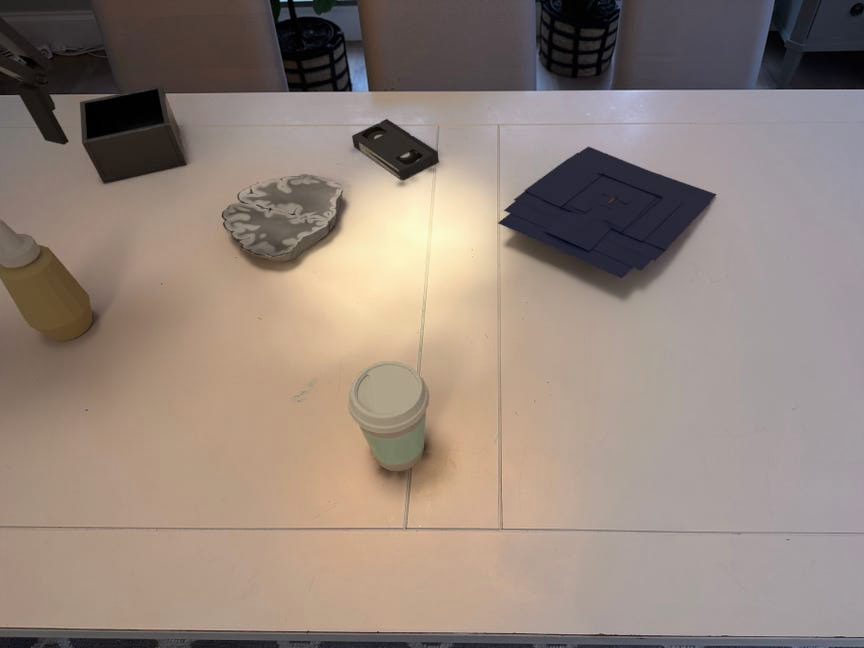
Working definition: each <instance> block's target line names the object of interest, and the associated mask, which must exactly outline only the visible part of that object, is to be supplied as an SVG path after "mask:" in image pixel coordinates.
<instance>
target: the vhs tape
mask: <svg viewBox="0 0 864 648" xmlns="http://www.w3.org/2000/svg"><path fill="white" fill-rule="evenodd" d="M351 138H352V144H353V147H354V148H355V149H356V150H358V151H359V152H361V153H363V155H365V156H367V157H368V158H369V159H370V160H372V161H373V162H375V163H376V164H377V165H379V166H381V168H383V169H385V170H386V171H388V172H389V173H391V174H392V175H393V176H395V177H396V178H398V179H399V180H400V181H405V180H407V179H409V178H410V177H412V176H414V175H417V174H418V173H421V172H422V171H424V170H426V169H428V168H430V167H431V166H433V165H435V164H437V163H439V151H438V150H436V149H434V148H433V147H431V146H430V145H428V144H426V143H425V142H423V141H421V139H419V138H417V137H415V136H414V135H412V134H411V133H410V132H408V131H406V130H405V129H403V128H402V127H400V126H399V125H398V124H396V123H395V122H393V121H391V120H389V119H388V118H386V119H384V120H381V121H380V122H379V123H376V124H374V125H371V126H369V127H367V128H365V129H363V130H361V131H358V132H357V133H355V134H352V135H351Z"/></svg>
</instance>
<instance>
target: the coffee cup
mask: <svg viewBox="0 0 864 648" xmlns="http://www.w3.org/2000/svg"><path fill="white" fill-rule="evenodd" d="M347 397H348V398H347V407H348V408H347V409H348V412H349V414H350V417H351V418H352V420H353V421H354V422H355V423H356V424H357V426H359V428H360V430H361V432H362V434H363V437H364V439H365V440H366V442H367V445H368V447H369V449H370V451H371V453H372V454H373V456H374V458H375V460H376V462H377V463H378V465H379V466H380V467H382V468H383V469H385V470H387V471H391V472H404V471H407V470H409V469H412V468H413V467H415V466H416V465H417V464H418V463H419V462H420V461H421V459H422V457H423V455H424V450H425V434H426V419H427V418H426V417H427V409H428V407H429V403H430V392H429V388H428V386H427V383H426V382H425V380H424V378H423V377H422V376H421V375H420V373H418V372H417V371H416V369H414V368H413V367H412V366H411V365H409V364H407V363H404V362H401V361H395V360H383V361H379V362H375V363H372V364H370V365H369V366H367V367H364V369H362V370H361V371H360V372H359V373H357V375H356V376H355V378H354V379H353V381H352V383H351V387H350V389H349V391H348V396H347Z"/></svg>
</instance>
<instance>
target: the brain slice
mask: <svg viewBox="0 0 864 648" xmlns="http://www.w3.org/2000/svg"><path fill="white" fill-rule="evenodd" d="M343 189H344V186H342V184H340V183H339V182H336V181H335V180H332V179H330V178H329V179H328V178H324V177H321V176H317V175H313V174H307V173H301V174H299V175H293V176H291V175H290V176H284V177H281V178H272V179H269V180H266V181H262V182H257V183H255V184H252V185H250V186H249V187H247V188H246V187H245V188H244V189H242V190H240V191H239V192H238V194H237V195H236V196H237V200H238V201H239V202H234V203H232V204H229V205H228V206H227V207H226V209H224V210H223V211H222V212H221V218H222V219H223V220H224V221H223V222H222V226H223V228H224V229H225V231H227V232H229V233H230V236H231V238H232V239H233V240H235V242H236V243H237V244H238V245H239V246H240V248H241V249H242V250H243V251H245V252H246V253H248V254H250V255H252V256H256V257H258V258H263V259H267V260H268V261H270V262H287V261H291V260H295V259H297V258H298V257H299V256H300V255H301V254H303V253H304V252H306V251H308V250H309V249H310V248H311V247H314V246H315V245H317V243H319V242H320V240H322V239H323V238H324V237H326V235H328V233H329V231H331V229H332V228H333V227H334V225H335V224H336V219H337V213H338V212H339V206H340V204H341V203H342V199H343V191H344V190H343Z"/></svg>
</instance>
